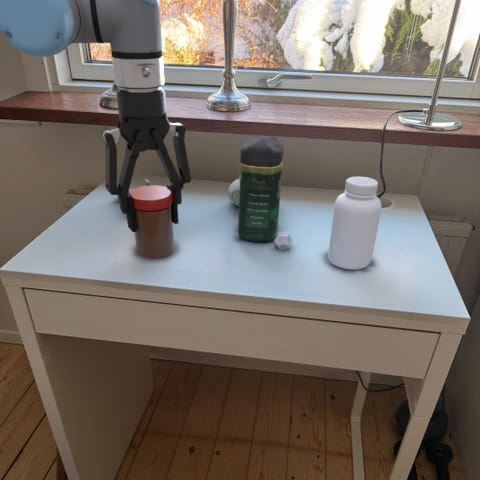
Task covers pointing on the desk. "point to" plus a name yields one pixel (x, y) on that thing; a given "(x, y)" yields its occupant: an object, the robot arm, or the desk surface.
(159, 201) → the lid
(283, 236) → the game die
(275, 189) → the coffee jar
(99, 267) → the desk surface
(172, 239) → the jam jar
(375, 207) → the pill bottle
